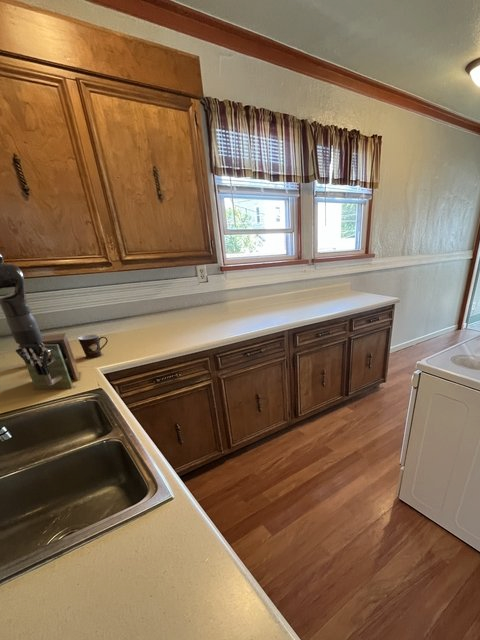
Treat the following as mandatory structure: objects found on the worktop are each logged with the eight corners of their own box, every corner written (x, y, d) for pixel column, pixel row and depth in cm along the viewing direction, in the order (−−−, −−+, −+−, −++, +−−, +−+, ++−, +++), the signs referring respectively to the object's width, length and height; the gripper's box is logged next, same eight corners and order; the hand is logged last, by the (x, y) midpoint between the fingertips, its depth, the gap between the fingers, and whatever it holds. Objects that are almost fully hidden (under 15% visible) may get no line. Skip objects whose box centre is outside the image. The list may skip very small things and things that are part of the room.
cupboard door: (61, 396, 123) (44, 351, 114) (23, 396, 122) (3, 351, 114) (73, 387, 129) (58, 344, 121) (37, 388, 129) (19, 345, 121)
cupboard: (78, 381, 135) (63, 339, 127) (37, 388, 129) (19, 344, 121) (79, 373, 143) (65, 333, 135) (40, 379, 137) (23, 337, 129)
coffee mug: (83, 360, 158) (76, 340, 153) (85, 355, 165) (79, 335, 160) (109, 357, 162) (104, 337, 157) (111, 352, 169) (106, 333, 164)
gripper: (50, 325, 112) (68, 371, 120) (17, 324, 115) (37, 369, 123) (31, 331, 106) (51, 379, 114) (-4, 330, 108) (18, 377, 116)
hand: (44, 374), depth 118 cm, fingers closed on cupboard door, 2 cm apart
